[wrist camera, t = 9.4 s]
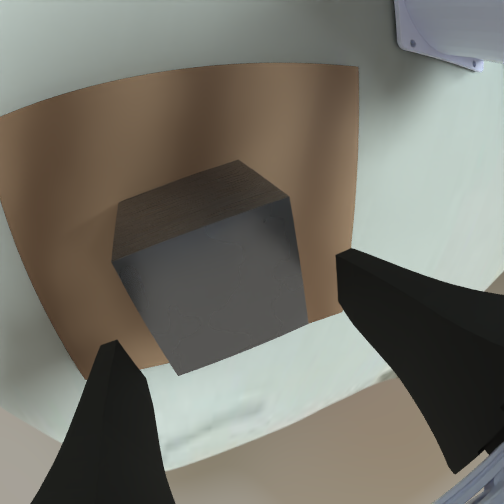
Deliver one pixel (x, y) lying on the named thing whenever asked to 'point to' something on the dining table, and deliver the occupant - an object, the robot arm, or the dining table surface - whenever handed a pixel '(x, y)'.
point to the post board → (172, 179)
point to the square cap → (211, 264)
